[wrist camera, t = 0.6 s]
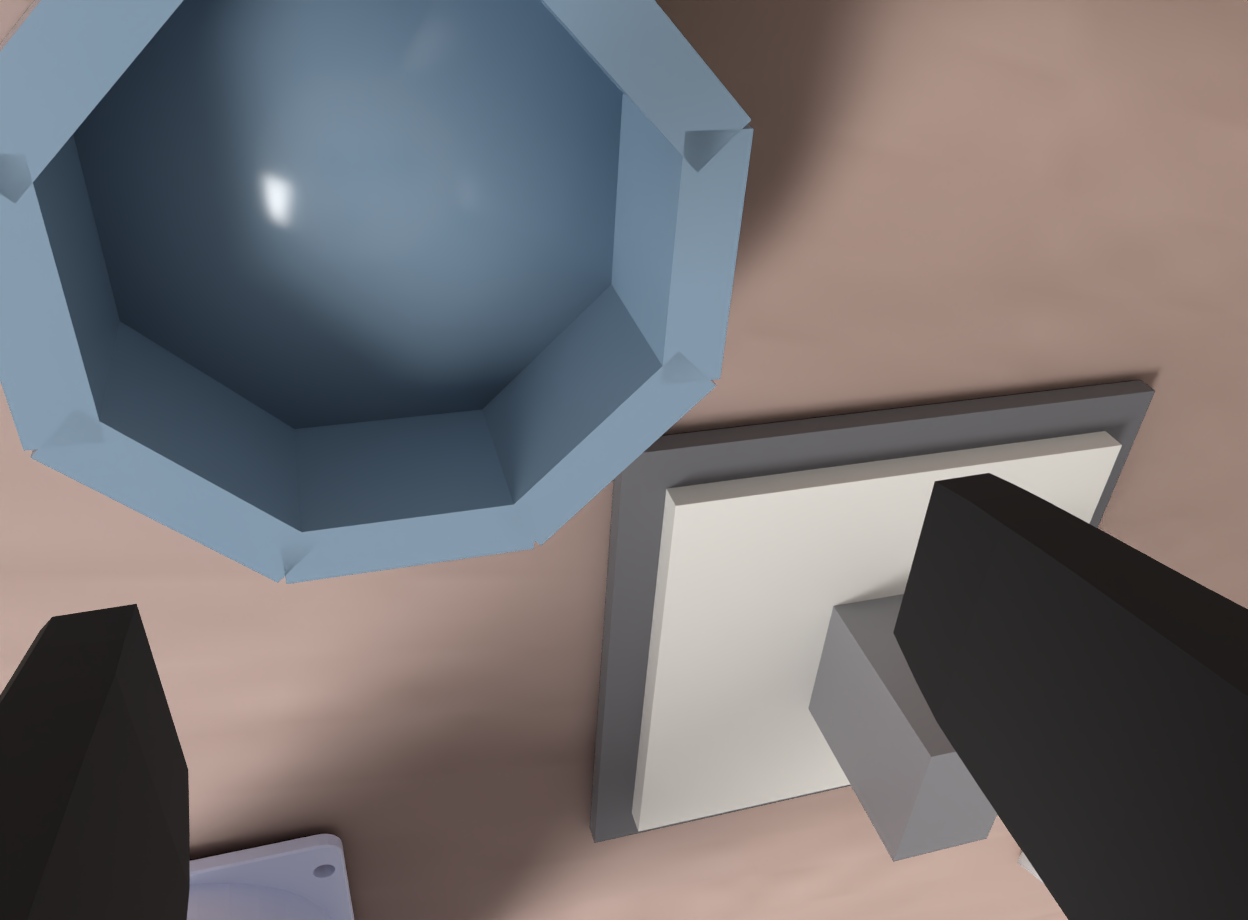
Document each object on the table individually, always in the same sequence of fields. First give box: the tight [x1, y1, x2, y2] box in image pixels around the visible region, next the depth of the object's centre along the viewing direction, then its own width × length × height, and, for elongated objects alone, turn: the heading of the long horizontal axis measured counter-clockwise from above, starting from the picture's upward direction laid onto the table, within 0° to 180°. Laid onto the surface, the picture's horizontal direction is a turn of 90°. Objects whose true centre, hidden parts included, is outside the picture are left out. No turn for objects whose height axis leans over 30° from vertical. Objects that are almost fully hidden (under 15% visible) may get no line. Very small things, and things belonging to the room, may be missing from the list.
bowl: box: [0, 0, 754, 584], centre depth 15 cm, size 10×10×4 cm
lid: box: [632, 431, 1122, 862], centre depth 24 cm, size 11×11×5 cm
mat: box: [590, 380, 1155, 843], centre depth 26 cm, size 13×13×1 cm
